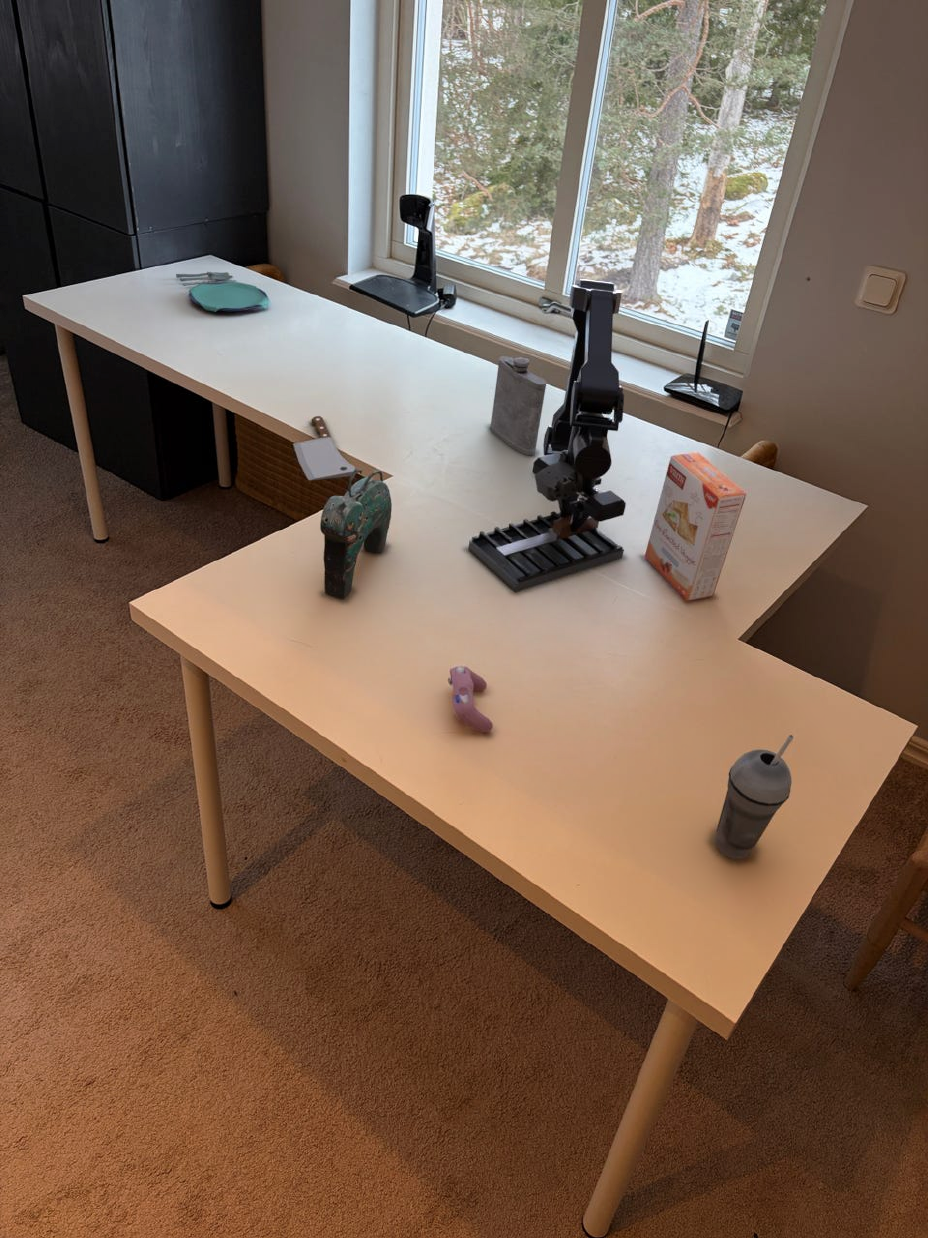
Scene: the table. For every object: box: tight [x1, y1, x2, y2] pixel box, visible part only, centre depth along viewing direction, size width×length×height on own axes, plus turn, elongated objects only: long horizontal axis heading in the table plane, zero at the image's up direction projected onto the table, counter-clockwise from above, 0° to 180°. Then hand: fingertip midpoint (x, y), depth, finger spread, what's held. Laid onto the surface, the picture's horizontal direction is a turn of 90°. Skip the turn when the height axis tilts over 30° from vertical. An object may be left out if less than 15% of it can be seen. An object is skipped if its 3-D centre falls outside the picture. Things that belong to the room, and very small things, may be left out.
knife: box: [496, 515, 600, 557], centre depth 165 cm, size 21×3×3 cm, turn 124°
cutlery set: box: [175, 271, 270, 313], centre depth 250 cm, size 20×30×2 cm, turn 30°
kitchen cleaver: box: [292, 415, 356, 482], centre depth 189 cm, size 24×1×10 cm
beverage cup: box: [714, 734, 794, 860], centre depth 113 cm, size 7×7×20 cm
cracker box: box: [644, 451, 747, 602], centre depth 160 cm, size 14×6×21 cm, turn 23°
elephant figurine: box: [319, 468, 393, 600], centre depth 152 cm, size 20×6×20 cm, turn 160°
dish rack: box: [467, 511, 625, 593], centre depth 167 cm, size 24×14×3 cm, turn 124°
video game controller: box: [447, 665, 494, 733], centre depth 132 cm, size 10×5×7 cm, turn 5°
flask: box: [490, 355, 548, 456], centre depth 196 cm, size 4×14×18 cm, turn 34°
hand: (569, 528), depth 168 cm, fingers closed on knife, 2 cm apart
